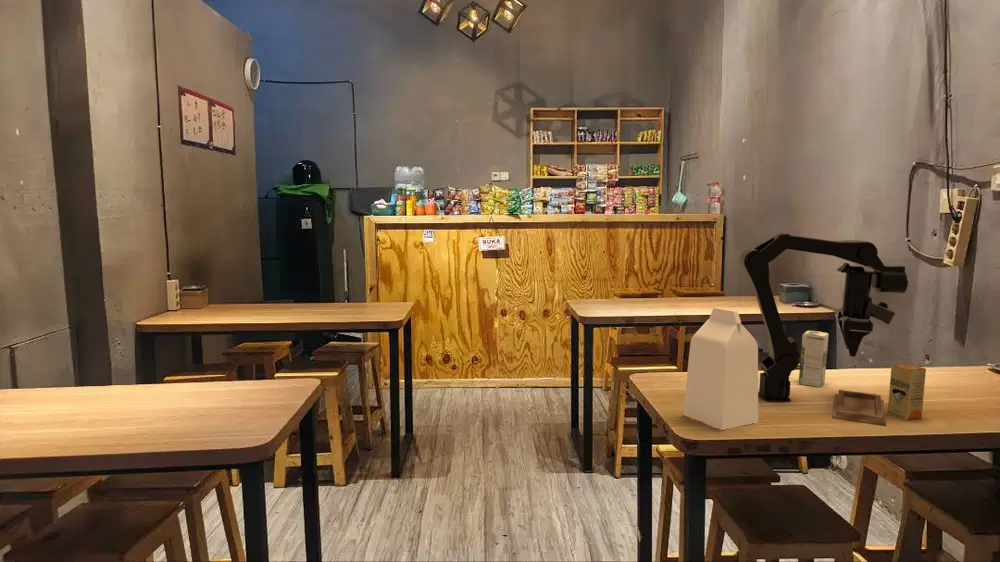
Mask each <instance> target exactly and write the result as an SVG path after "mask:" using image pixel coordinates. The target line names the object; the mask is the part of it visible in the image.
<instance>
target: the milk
mask: <svg viewBox="0 0 1000 562" xmlns="http://www.w3.org/2000/svg"><path fill="white" fill-rule="evenodd" d="M758 392H759V345H758V341H757V340H756V339H755V337H754V336H753V335H752V334H751V333H750V332H749V331H748V329H747V328H745V326H744V325H743V324H742V320H741V318H740V314H739V311H738V310H735V309H729V308H724V307H723V308H722V307H719V306H718V307H713V308H712V311H711V313H710V314H709V318H708V319H707V320H706V321H705V322H704V323H703V325H702V326H701V327H700V328H699V329H698V330H697V331H696V332H695V333H694V334H693V336H692V337H691V339H690V344H689V353H688V364H687V374H686V383H685V391H684V394H685V395H684V403H683V404H684V405H683V412H682V414H683V413H684V414H687V415H689V416H692V417H694V418H696V419H699V420H702V421H704V422H707V423H709V424H712V425H714V426H717V427H719V428H721V429H726V428H730V427H736V426H741V425H747V424H752V423H756V424H759V396H758ZM752 425H753V424H752Z"/></svg>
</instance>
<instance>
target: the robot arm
mask: <svg viewBox="0 0 1000 562" xmlns="http://www.w3.org/2000/svg"><path fill="white" fill-rule="evenodd" d="M786 250H792V251H798V252H805V253H812V254H820V255H824V256H825V255H826V256H832V257H836V258H837V259H841V260H845V261H848V263H847V262H844V263H843V264H842V265H841V266H839V267H838V268H837V269H836V271H837V272H838V273H839V272H840V273H843V274H845V279H844V280H845V281H844V291H843V292H842V307H840V308H839V309H837V313H836V319H837V323H838V327H839V329H840V332H841V334H842V338H843V341H844V345H845V349H848V354H849V357H851V358H852V357H853V358H855V357H856V355H857V353H858V350H859V348H860V345H861V343H862V340H863V338H864V337H866V336H868V335H870V334H871V333H872V332H873V331H874V323H873V322H872V321H871V320H870V319H871V317H873V318H875V319H877V320H880V321H881V322H883V323H884V324H887V325H890V324H891V322H892V320H893V318H894V317H895V315H896V312H895V311H894V310H892V309H889V306H888V305H889V304H888V303H886V302H884V301H882V300H881V301H878V303H875V302H873V298H872V297H871V288H873V289H874V290H875V292H876V293H883V294H884V293H886V294H887V293H888V294H905V293H906V291H907V289H908V285H909V280H908V275H907V273H906V267H905V266H903V265H885V264H884V263H883V261H882V260H881V258H880V257H879V256H878V255H879V254H878V253H879V252H878V248H877V247H876V245H875V244H874V243H873V242H870V241H865V240H860V239H859V240H858V239H854V240H829V239H823V238H821V239H820V238H815V237H814V238H813V237H807V236H800V235H794V234H789V233H785V232H779V233H776V234H775V235H774V236H773V237H771V238H769V239H768V240H766V241H765V242H761V244H759V245H757V246H756V247H754V248H748V249H745V250H744V251H743V252H742V253H741V254H740V256H739V265H740V266H741V269H742V270H743V272H744V274H745V275H746V277H747V278H748V279H747V280H749V282H750V285H751V286H752V289H753V291H754V294H755V295H754V296H755V297H756V301H757V304H758V308H759V310H760V314H761V318H762V321H763V323H764V326H765V331H766V333H767V338H768V339H767V349H768V355H767V356H766V357H765V358H764V359H762V360H761V361H760V362H759V365H760V368H761V370H762V371H763V372H760V373H759V385H758V397H759V398H761V399H762V400H764V401H766V402H791V401H792V398H791V397H790V396H791V380H790V375H791V374H792V372H793V371H795V370H796V369H797V367H798V366H799V365H800V360H799V358H801V353H799V351H798V346H797V341H796V340H795V339H794V338H792V337H791V336H789V337H787V334H786V332H785V330H784V326H783V323H782V320H781V316H780V313H779V311H778V307H777V303H776V300H775V298H774V293H773V291H772V288H771V284H770V265H769V264H770V263H771V262H772V261H774V260H775V259H776V258H777V257H778V256H780V255H781V254H782V253H783V252H784V251H786ZM849 262H850V263H854V264H857V265H856V266H855V265H850V264H849ZM858 265H861V266H858ZM865 268H869V269H872V270H865Z"/></svg>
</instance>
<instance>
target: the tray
mask: <svg viewBox="0 0 1000 562" xmlns="http://www.w3.org/2000/svg"><path fill="white" fill-rule="evenodd" d="M831 418H832V419H838V420H844V421H851V422H856V423H864V424H870V425H871V424H872V425H879V426H887V421H886V420H887V419H886V410H885V400H884V399H882V398H881V394H875V393H866V392H860V391H852V390H844V389H838V393H834V400H833V407H832V414H831Z"/></svg>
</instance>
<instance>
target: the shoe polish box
mask: <svg viewBox="0 0 1000 562" xmlns="http://www.w3.org/2000/svg"><path fill="white" fill-rule="evenodd" d="M890 367H891V369H890V380H889V390H888V391H889V393H888V401H887V402H888V404H887V415H888V414H890V415H889V416H891V415H892V416H891V417H894V416H895V418H897V417H898V419H900V418H901V420H903V419H904V420H903V421H906V420H908V421H912V420H913V419H914V420H919V419H918V418H920V419H923V409H924V408H923V405H924V395H925V384H926V383H925V382H926V370H927V368H924V367H920V366H918V365H914V364H911V363H910V364H909V363H900V364H891V366H890Z"/></svg>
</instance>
